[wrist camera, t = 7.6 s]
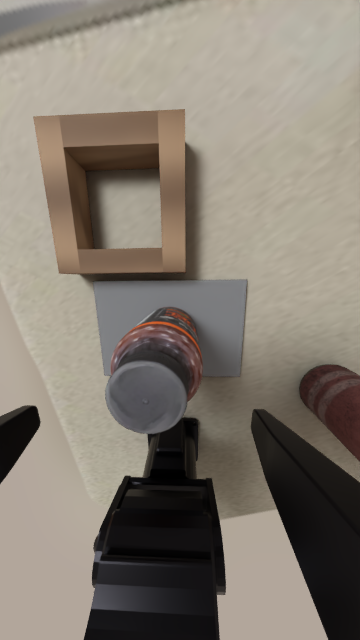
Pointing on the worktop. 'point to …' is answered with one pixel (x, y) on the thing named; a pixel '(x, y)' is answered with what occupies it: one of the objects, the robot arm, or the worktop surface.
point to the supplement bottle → (155, 372)
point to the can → (335, 402)
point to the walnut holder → (112, 154)
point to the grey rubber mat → (189, 295)
